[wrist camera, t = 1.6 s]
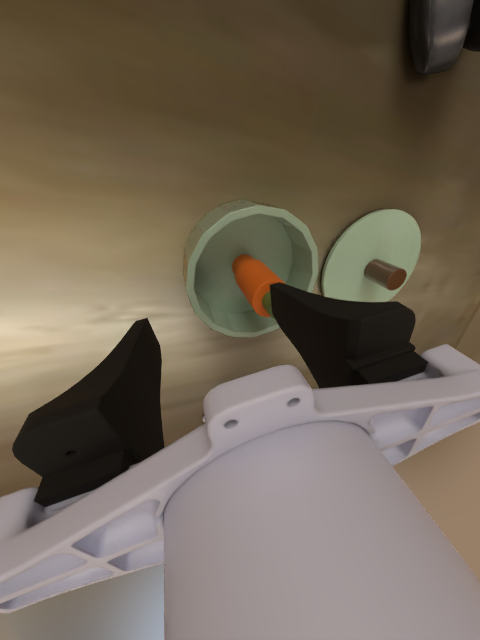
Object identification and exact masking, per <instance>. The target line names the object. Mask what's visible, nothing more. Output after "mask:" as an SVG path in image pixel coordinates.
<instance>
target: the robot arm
mask: <svg viewBox="0 0 480 640" xmlns="http://www.w3.org/2000/svg"><path fill="white" fill-rule="evenodd" d="M270 295H271V307H272V314H273V316H274V318H275V320H276V322H277V323H278V325H279V327H280V328H281V329H282V331H283V332H284V333H285V335H286V336H287V337H288V339H289V340H290V341H291V342H292V344H293V345H294V346H295V348H296V349H297V350H298V352H299V353H300V355H301V356H302V358H303V360H304V361H305V363H306V365H307V366H308V368H309V370H310V372H311V373H312V375H313V377H314V379H315V380H316V382H317V384H318V386H319V388H320V389H311V387H310V386H309V384H308V383H307V381H306V380H305V378H304V377H303V375H302V374H301V372H300V371H299V369H298V368H296V367H294V366H291V365H280V366H274V367H271V368H268V369H265V370H262V371H259V372H256V373H253V374H250V375H247V376H243V377H240V378H237V379H234V380H231V381H228V382H225V383H222V384H220V385H218V386H216V387H214V388H213V389H211V390H210V391H209V392H208V394H207V395H206V396H205V397H204V399H203V411H204V417H203V418H202V419H203V422H206V423H205V424H203V425H201V426H200V427H198V428H196V429H195V430H193V431H191V432H190V433H188V434H186V435H185V436H183V437H181V438H180V439H178V440H176V441H175V442H173V443H171V444H170V445H168V446H167V447H165V448H164V440H163V431H162V420H161V407H160V385H161V364H162V359H161V350H160V345H159V342H158V340H157V338H156V336H155V334H154V332H153V329H152V327H151V325H150V323H149V321H148V319H147V318H145V319H142V320H138V321H136V322H135V323H134V324H133V325H132V327H131V328H130V329H129V330H128V332H127V333H126V334H125V336H124V337H123V338H122V340H121V341H120V342H119V343H118V345H117V346H116V347H115V348H114V349H113V350H112V352H111V353H110V354H109V355H108V356H107V357H106V358H105V359H104V360H103V361H102V362H101V363H100V364H99V365H98V366H97V367H96V368H95V369H94V370H93V371H91V372H90V373H89V374H88V375H86V376H85V377H84V378H83V379H82V380H80V381H79V382H78V383H77V384H75V385H74V386H72V387H71V388H70V389H68V390H67V391H65V392H64V393H62V394H61V395H60V396H58V397H56V398H55V399H53V400H52V401H50V402H48V403H47V404H45V405H43V406H42V407H40V408H38V409H37V410H35V411H33V412H32V413H30V414H29V415H28V417H27V419H26V421H25V423H24V425H23V426H22V428H21V430H20V432H19V434H18V436H17V438H16V440H15V441H14V443H13V448H12V451H13V454H14V456H15V457H16V458H17V459H18V460H19V461H20V462H21V463H22V464H24V465H25V466H27V467H28V468H30V469H31V470H33V471H34V472H36V473H37V474H39V475H40V476H42V477H43V478H42V481H41V483H40V486H39V488H38V487H29V488H25V489H22V490H19V491H16V492H13V493H10V494H7V495H4V496H1V497H0V613H11V612H14V611H16V610H19V609H21V608H24V607H27V606H29V605H32V604H34V603H37V602H40V601H42V600H45V599H48V598H51V597H53V596H57V595H59V594H62V593H65V592H68V591H71V590H74V589H78V588H81V587H84V586H87V585H90V584H94V583H97V582H100V581H104V580H107V579H110V578H114V577H117V576H120V575H124V574H127V573H130V572H134V571H137V570H140V569H144V568H147V567H151V566H154V565H158V564H161V563H164V634H165V640H480V581H479V579H478V578H477V577H476V575H475V574H474V573H473V571H472V570H471V569H470V567H469V566H468V565H467V564H466V562H465V561H464V560H463V558H462V557H461V556H460V554H459V553H458V552H457V550H456V549H455V548H454V547H453V545H452V544H451V543H450V541H449V540H448V539H447V537H446V536H445V535H444V534H443V532H442V531H441V529H440V528H439V527H438V526H437V525H436V523H435V522H434V520H433V519H432V518H431V516H430V515H429V514H428V512H427V511H426V510H425V509H424V507H423V506H422V505H421V503H420V502H419V501H418V499H417V498H416V497H415V495H414V494H413V493H412V492H411V490H410V489H409V488H408V486H407V485H406V484H405V482H404V481H403V480H402V478H401V477H400V476H399V475H398V473H397V472H396V471H395V469H394V468H393V466H394V465H396V464H398V463H400V462H402V461H403V460H405V459H407V458H409V457H411V456H412V455H414V454H416V453H418V452H420V451H421V450H423V449H425V448H427V447H429V446H431V445H433V444H434V443H436V442H438V441H440V440H442V439H444V438H446V437H448V436H450V435H452V434H454V433H456V432H458V431H460V430H462V429H465V428H467V427H469V426H472V425H474V424H476V423H479V422H480V365H479V364H478V363H476V362H475V361H473V360H471V359H470V358H468V357H467V356H465V355H463V354H462V353H460V352H458V351H457V350H456V349H454V348H452V347H451V346H449V345H448V344H444V345H441V346H438V347H435V348H432V349H429V350H426V351H424V352H423V353H422V354H421V355H418V354H417V353H416V352H414V350H415V346H414V345H412V344H411V343H410V342H409V341H410V338H411V335H412V332H413V329H414V326H415V314H414V312H413V311H412V310H411V309H409V308H407V307H406V306H404V305H402V304H401V303H399V302H359V301H348V300H340V299H334V298H329V297H324V296H320V295H317V294H313V293H310V292H307V291H304V290H301V289H298V288H295V287H293V286H290V285H287V284H284V283H281V282H278V283H274V284H271V285H270Z"/></svg>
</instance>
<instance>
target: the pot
mask: <svg viewBox="0 0 480 640" xmlns="http://www.w3.org/2000/svg"><path fill="white" fill-rule="evenodd" d="M243 254H247V255H250V256H251V257H252V258H253V259H257V260H260V261H261V262H263V263H264V264H265V265H266V266H267V267H268V268H269V269H270V270H271V271H272V272H273V273H275V274H276V275H277V276H278V277H279V278H280V279H281V280H282V281H283V282H284V283H285V284H287V285H290V286H293V287H295V288H298V289H301V290H304V291H307V292H310V293H312V290H313V288H314V285H315V282H316V279H317V276H318V248H317V246H316V244H315V242H314V240H313V238H312V235H311V233H310V231H309V229H308V227H307V226H306V225H305V224H304V223H303V222H301V221H300V220H299V219H297V218H296V217H295V216H294V215H292V214H291V213H290V212H289V211H287V210H285V209H282V208H279V207H275V206H272V205H269V204H265V203H259V202H255V201H249V200H240V201H234V202H229V203H227V204H224V205H221V206H218V207H217V208H215V209H213V210H212V211H211V212H209V213H208V214H207V215H205V216H204V217H203V218H202V219H201V220H200V221H199V223H197V225H196V226H195V228H194V229H193V231H192V233H191V234H190V236H189V239H188V241H187V243H186V246H185V249H184V258H183V276H184V281H185V286H186V291H187V294H188V296H189V299H190V302H191V304H192V307H193V310H194V312H195V314H196V315H197V316H198V317H199V318H200V319H201V320H202V321H203V322H204V323H205V324H206V325H207V326H208V327H209V328H211V329H212V330H214V331H217V332H220V333H222V334H225V335H228V336H230V337H257V336H260V335H263V334H266V333H269V332H272V331H275V330H276V329H278V328H280V327H279V325H278V323H277V322H276V320H275V319H274V318H272V317H263V316H260V315H258V314H257V313H256V312H255V311H254V309H253V308H252V306H251V305H250V303H249V302H248V300H247V299H246V297H245V295H244V294H243V292H242V291H241V289H240V288H239V286H238V285H237V283H236V279H235V274H234V273H233V271H232V264H233V261H234V260H235V259H236V258H237V257H238V256H240V255H243Z"/></svg>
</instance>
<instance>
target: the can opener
mask: <svg viewBox="0 0 480 640" xmlns="http://www.w3.org/2000/svg"><path fill="white" fill-rule="evenodd" d="M410 44H411V52H412V58H413V63H414V66H415V69H416V72H417V73H418V74H419V75H429V74H434V73H439V72H443V71H446V70H448V69H449V68H451V66H452V65H453V64H454V63H455V61H456V59H457V57H458V55H459V53H460V51H461V49H462V47H464V48H465V49H468V50H471V51H477V52H478V51H480V0H411V2H410Z"/></svg>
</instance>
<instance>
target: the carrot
mask: <svg viewBox="0 0 480 640" xmlns="http://www.w3.org/2000/svg"><path fill="white" fill-rule="evenodd" d="M232 271H233V273H234V274H235V279H236V283H237V285H238V286H239V288H240V289H241V291H242V292H243V294H244V295H245V297H246V299H247V300H248V302H249V303H250V305H251V306H252V308H253V309H254V311H255V312H256V313H257V314H258V315H260V316H263V317H272V318H274V316H273V314H272V307H271V295H270V285H271V284H274V283H278V282H281V283H284V282H283V281H282V280H281V279H280V278H279V277H278V276H277V275H276V274H275V273H273V272H272V271H271V270H270V269H269V268H268V267H267V266H266V265H265V264H264V263H263V262H261V261H260V260H257V259H253V258H252V257H251V256H250V255H247V254H243V255H240V256H238V257H237V258H236V259H235V260H234V261H233V264H232ZM284 284H285V283H284ZM274 319H275V318H274Z"/></svg>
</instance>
